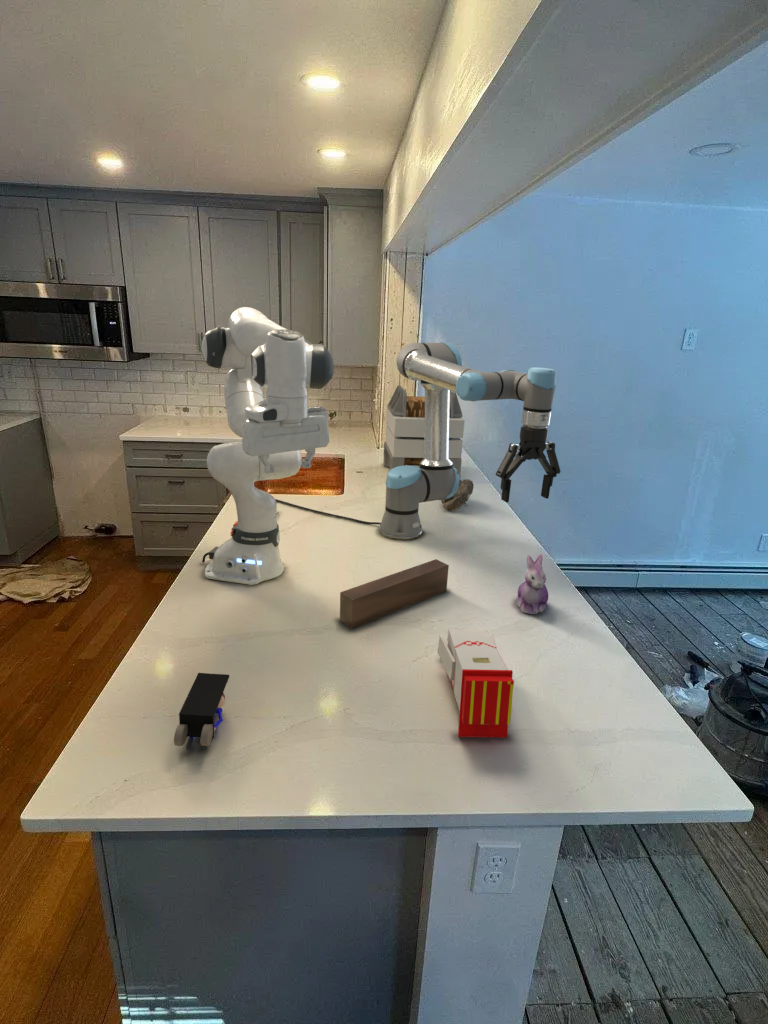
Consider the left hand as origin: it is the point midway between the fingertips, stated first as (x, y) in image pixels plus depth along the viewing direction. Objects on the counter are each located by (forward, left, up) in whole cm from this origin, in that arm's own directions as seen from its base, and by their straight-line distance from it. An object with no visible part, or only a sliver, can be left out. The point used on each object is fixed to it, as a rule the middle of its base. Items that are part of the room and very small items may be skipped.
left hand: (288, 470), depth 127 cm
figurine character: (-9, -38, -40) cm, 56 cm away
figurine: (+63, +15, -40) cm, 76 cm away
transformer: (+37, +143, -40) cm, 153 cm away
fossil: (+51, +99, -40) cm, 118 cm away
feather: (-19, +76, -40) cm, 87 cm away
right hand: (+62, +33, -15) cm, 72 cm away
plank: (+26, +12, -40) cm, 49 cm away
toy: (+42, -23, -40) cm, 62 cm away
